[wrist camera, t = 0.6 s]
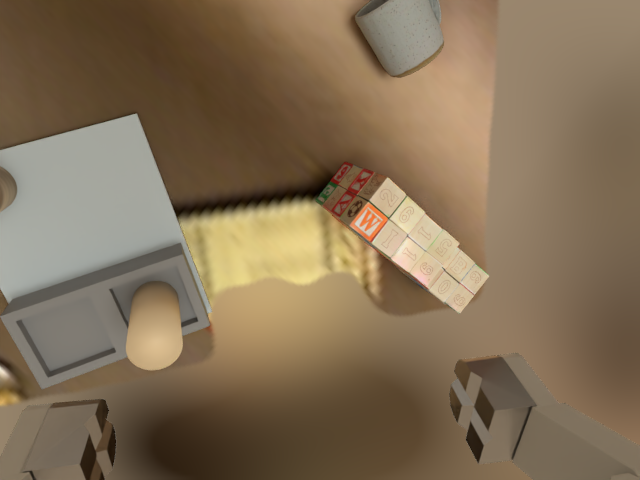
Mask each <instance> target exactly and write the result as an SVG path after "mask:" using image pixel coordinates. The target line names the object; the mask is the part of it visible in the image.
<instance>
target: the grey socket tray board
mask: <svg viewBox="0 0 640 480" xmlns="http://www.w3.org/2000/svg"><path fill="white" fill-rule="evenodd" d="M0 166H1V167H3V168H4V169H6V170H7V171H8V172H9V173H10V174H11V175H12V176H13V178H14V180H15V182H16V185H17V195H16V198H15V200H14V201H13V203H12V204H11V205H10V206H8V207H7V208H6V209H4V210H3V211H1V212H0V289H1V291H2V292H3V294H4V296H5V298H6V300H7V301H8V303H9V304H8V306H7V307H6V309H5V310H4V311H3V313H2V314H1V315H0V318H1V319H2V321H3V323H4V325H5V326H6V328H7V330H8V331H9V333H10V335H11V337H12V338H13V340H14V342H15V344H16V345H17V347H18V349H19V350H20V352H21V354H22V356H23V357H24V359H25V361H26V362H27V364H28V366H29V368H30V369H31V371H32V373H33V375H34V376H35V378H36V380H37V381H38V383H39V385H40V387H41V388H42V389H44V388H47V387H49V386H52V385H55V384H57V383H60V382H63V381H65V380H68V379H71V378H73V377H76V376H78V375H81V374H84V373H86V372H89V371H92V370H94V369H97V368H100V367H102V366H105V365H107V364H110V363H113V362H115V361H118V360H121V359H123V358H126V357H128V358H129V360H130V361H131V362H132V363H133V364H134V365H136V366H137V367H139V368H142V369H145V370H159V369H162V368H165V367H167V366H169V365H171V364H172V363H173V362H175V361H176V360H177V358H178V357H179V355H180V354H181V351H182V347H183V340H182V336H184V335H186V334H189V333H192V332H194V331H197V330H200V329H202V328H205V327H208V326H210V322H209V318H208V313H210V312H212V309H211V306H210V304H209V301H208V298H207V296H206V293H205V290H204V288H203V285H202V283H201V280H200V277H199V275H198V272H197V269H196V267H195V264H194V262H193V259H192V256H191V254H190V251H189V248H188V246H187V243H186V241H185V238H184V235H183V233H182V230H181V227H180V225H179V222H178V220H177V217H176V214H175V212H174V209H173V206H172V204H171V201H170V198H169V196H168V193H167V191H166V188H165V185H164V183H163V180H162V177H161V175H160V172H159V170H158V167H157V164H156V162H155V159H154V156H153V154H152V151H151V149H150V146H149V143H148V141H147V138H146V135H145V133H144V130H143V127H142V125H141V122H140V120H139V117H138V114H137V113H136V114H133V115H129V116H125V117H121V118H118V119H114V120H110V121H107V122H103V123H99V124H95V125H92V126H88V127H84V128H80V129H77V130H73V131H69V132H66V133H62V134H58V135H54V136H51V137H47V138H43V139H40V140H36V141H32V142H28V143H25V144H21V145H17V146H13V147H10V148H6V149H2V150H0Z"/></svg>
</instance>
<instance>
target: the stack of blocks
mask: <svg viewBox="0 0 640 480" xmlns="http://www.w3.org/2000/svg"><path fill="white" fill-rule="evenodd" d="M315 201H316V202H317V203H319V204H320V205H321V206H322V207H323V208H325V209H326V210H327V211H328V212H329V213H331V214H332V216H333V217H335V218H336V219H337V220H338V221H339V222H341V223H342V224H343V225H344V226H346V227H347V228H348V229H349V230H350V231H352V232H353V233H354V234H355V235H356V236H358V237H359V238H360V239H361V240H363V241H364V242H365V243H367V244H368V245H370V246H371V247H373V248H374V249H375V250H376V251H378V252H379V253H380V254H381V255H383V256H384V257H385V258H387V259H388V260H389V261H391V262H392V263H393V264H394V265H395V267H396V268H398V269H399V270H400V271H401V272H402V273H404V274H405V275H406V276H407V277H409V278H410V279H411V280H413V281H414V282H415V283H417V284H418V285H419V286H420V287H422V288H423V289H425V290H426V291H427V292H429V293H430V294H431V295H433V296H434V297H435V298H437V299H438V300H439V301H441V302H442V303H444V304H447V305H448V306H449V307H451V308H452V309H453V310H455V311H456V312H458V313H459V314H460V312H461V311H462V310H463V309H464V308H465V306H466V305H467V304H468V303H469V301H470V300H471V299H472V298H473V296H474V294H475V293H476V292H477V291H478V290H479V288H480V287H481V286H482V284H483V283H484V282H485V281H486V280H487V278H488V277H489V275H488V274H487V273H486V272H484V271H483V270H482V269H481V268H480V267H479V266H477V265H476V264H475V262H474V261H473V260H471V259H470V258H469V257H468V256H467V255H466V254H465V253H463V252H462V251H461V250H460V249H459V248H458V246H459V244H460V243H459V242H458V241H456V240H455V239H454V238H453V237H452V236H451V235H450V234H448V233H447V232H446V231H445V230H444V229H442V228H441V227H440V226H438V225H437V224H436V223H435V222H434V221H433V220H432V219H431V218H430V217H428V216H427V215H426V214H425V212H424V211H423V210H422V209H421V208H420V207H419V206H418V205H417V204H416V203H415V202H414V201H412V200H411V199H410V198H409V197H408V196H406V194H405V193H404V192H403V191H402V190H401V189H400V188H399V187H398V186H397V185H396V184H395V183H394V182H393V181H392V180H390V179H389V178H388V177H386V176H383V175H380V174H377V173H375V172H373V171H370V170H367V169H363V168H360V167H357V166H355V165H353V164H350V163H348V162H344V164H343V165H342V166H341V167H340V169H339V170H338V171H337V173H336V174H335V175H334V176H333V178H332V179H331V180H330V182H329V183H328V185H327V186H326V187H325V188H324V190H323V191H322V192H321V193H320V195H319V196H318V197H317V198H316V200H315Z"/></svg>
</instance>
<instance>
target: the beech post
mask: <svg viewBox="0 0 640 480" xmlns="http://www.w3.org/2000/svg"><path fill="white" fill-rule="evenodd" d="M16 195H17V185H16V182H15V180H14V178H13V176H12V175H11V174H10V173H9V172H8V171H7V170H6V169H4V168H3V167H1V166H0V212H1V211H3V210H4V209H6V208H7V207H8V206H10V205H11V204H12V203H13V201H14V200H15V198H16Z"/></svg>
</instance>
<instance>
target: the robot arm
mask: <svg viewBox="0 0 640 480" xmlns="http://www.w3.org/2000/svg"><path fill="white" fill-rule="evenodd" d="M454 372H455V374H456V376H457V377H458V378H457V379H456V380H455V381H454V382H453V383H452V384H451V388H450V393H449V397H450V406H451V409H452V412H453V415H454V417H455V419H456V421H457V423H458V424H459V425H460V426H462V427H463V428H465V429H466V430H467V436H466V441H467V443H468V445H469V447H470V449H471V451H472V453H473V455H474V457H475V459H476V460H477V462H478V464H485V463H493V462H502V461H510V460H513V463H514V464H515V465H516V466H517V467H519V468H520V469H521V470H522V471H523V472H525V473H526V474H527V475H528V476H529V477H531V478H532V479H533V480H640V446H639V445H638V444H636V443H634V442H632V441H630V440H628V439H627V438H625V437H623V436H622V435H620V434H618V433H616V432H615V431H613V430H611V429H609V428H607V427H606V426H604V425H602V424H601V423H599V422H597V421H595V420H594V419H592V418H590V417H588V416H587V415H584V414H583V413H581V412H580V411H578V410H576V409H574V408H573V407H571V406H569V405H567V404H566V403H558V402H557V401H556V399H555V398H554V397H553V395H552V394H551V393H550V392H549V390H548V389H547V388H546V386H545V385H544V384H543V382H542V381H541V380H540V379H539V377H538V376H537V375H536V374H535V372H534V371H533V369H532V368H531V367H530V366H529V364H528V363H527V362H526V360H525V359H524V358H523V357H522V356H521V355H520V354H518V353H511V354H503V355H497V356H496V355H494V356H486V357H477V358H468V359H460V360H459V361H458V362H457V363H456V366H455V370H454ZM108 412H109V409H108V406H107V403H106V400H104V399H95V400H83V401H72V402H60V403H53V404H41V405H29V406H27V407H26V408H25V409H24V410H23V411H22V413H21V415H20V417H19V419H18V421H17V423H16V425H15V427H14V429H13V432H12V434H11V436H10V438H9V440H8V442H7V444H6V446H5V448H4V450H3V453H2V454H1V456H0V480H105V477H106V476H107V474H108V473H109V472H110V471H111V470H112V469H113V465H114V460H115V454H116V434H115V429H114V426H113V424H112V423H111V422H109V421H107V416H108Z"/></svg>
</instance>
